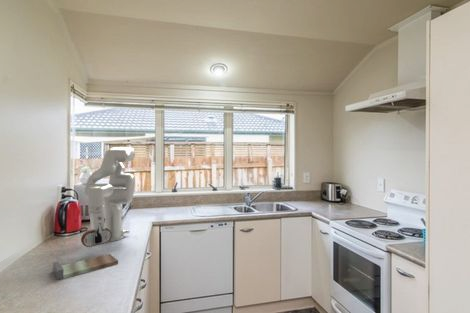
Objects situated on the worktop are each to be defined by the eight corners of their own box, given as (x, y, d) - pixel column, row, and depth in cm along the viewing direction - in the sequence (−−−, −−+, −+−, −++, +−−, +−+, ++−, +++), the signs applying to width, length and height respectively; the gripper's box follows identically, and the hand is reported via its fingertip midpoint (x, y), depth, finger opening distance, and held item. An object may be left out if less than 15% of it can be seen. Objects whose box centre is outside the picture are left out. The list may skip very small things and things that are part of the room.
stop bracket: (57, 269, 123) (57, 261, 123) (63, 278, 115) (63, 269, 115) (52, 270, 122) (52, 262, 122) (57, 280, 113) (57, 270, 113)
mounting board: (109, 256, 139) (109, 253, 139) (117, 263, 131) (117, 260, 130) (57, 269, 123) (57, 266, 123) (63, 278, 115) (63, 275, 115)
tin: (110, 240, 151) (110, 226, 150) (112, 242, 148) (112, 227, 148) (81, 247, 140) (80, 232, 140) (82, 249, 138) (82, 233, 138)
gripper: (108, 210, 140) (109, 244, 141) (99, 205, 152) (100, 236, 153) (93, 213, 135) (94, 248, 136) (84, 207, 147) (85, 239, 148)
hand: (97, 241), depth 145 cm, fingers closed on tin, 2 cm apart
